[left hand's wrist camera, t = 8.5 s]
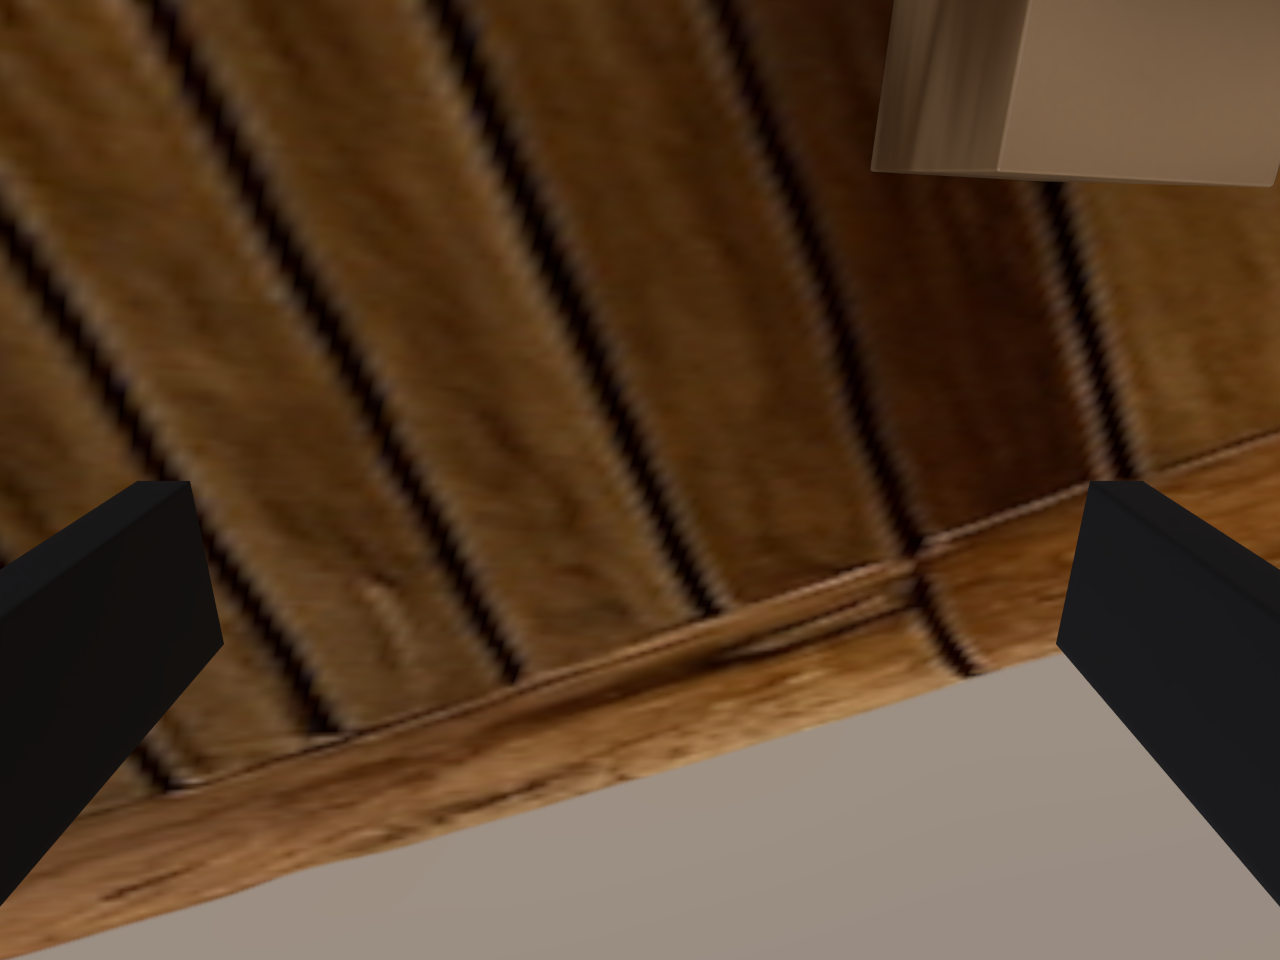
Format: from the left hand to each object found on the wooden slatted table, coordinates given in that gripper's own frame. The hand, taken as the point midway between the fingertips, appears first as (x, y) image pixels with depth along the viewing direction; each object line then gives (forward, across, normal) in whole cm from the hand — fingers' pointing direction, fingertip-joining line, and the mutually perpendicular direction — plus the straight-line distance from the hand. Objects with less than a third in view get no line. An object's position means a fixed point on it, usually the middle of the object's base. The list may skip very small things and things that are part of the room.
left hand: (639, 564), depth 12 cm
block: (+19, -11, -9) cm, 24 cm away
